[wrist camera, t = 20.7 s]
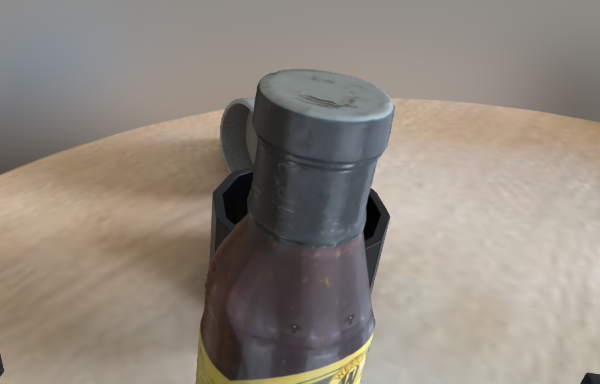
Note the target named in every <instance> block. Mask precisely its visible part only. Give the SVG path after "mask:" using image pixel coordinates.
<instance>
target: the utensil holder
mask: <svg viewBox="0 0 600 384" xmlns="http://www.w3.org/2000/svg"><path fill="white" fill-rule="evenodd" d="M252 181H253V166H250V167H247V168H244V169H241V170H238V171H235V172H233V173H231V174H230V175H229V176H228V177H227V178H226V179H225V180H224V181H223V182H222V183H221V184H220V185H219V187H218V188H217V189H216V190H215V191H214V192H213V199H212V222H211V245H210V265H211V262H212V259H213V257H214V254H215V252H216V250H217V249H218V247H219V246H220V245H221V243H222V242H223V240H224V239H225V238H226V237H227V236H228V235H229V234H230V232H231V231H233V230H234V229H235V225H236V224H237V223H239V222H240V221H241V220H242V219H243V218H244V217H245V216H246V215H247V214H248V206H247V198H248V196H249V192H250V190H251V184H252ZM389 220H390V215H389V213H388V211H387V209H386V208H385V206H384V204H383V203H382V201H381V199H380V198H379V196H378V194H377V193H376V192H375V191H374V190H373V189H370V193H369V196H368V201H367V205H366V222H365V226H364V229H363V234H364V243H365V252H366V261H367V269H368V278H369V287H370V295H371V292H372V288H373V284H374V280H375V276H376V272H377V268H378V264H379V260H380V256H381V252H382V248H383V244H384V240H385V236H386V232H387V228H388V224H389ZM209 268H210V267H209Z"/></svg>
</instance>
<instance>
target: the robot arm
mask: <svg viewBox="0 0 600 384" xmlns="http://www.w3.org/2000/svg"><path fill="white" fill-rule="evenodd" d="M3 372H4V368H3V364H2V359H1V355H0V376H1V375H2V373H3ZM580 384H600V374H593V373H586V375H585V376H584V378H583V380H582V382H581V383H580Z"/></svg>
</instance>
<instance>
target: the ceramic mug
mask: <svg viewBox="0 0 600 384" xmlns="http://www.w3.org/2000/svg"><path fill="white" fill-rule="evenodd" d="M254 102H255V98H241V99H236V100H234V101H232V102H231V103H230V104H229V105H228V106H227V107H226V108H225V111H224V113H223V116H222V119H221V125H220V142H221V150H222V154H223V158H224V162H225V164H226V167H227V169H228V171H229V173H230V174H231V173H233V172H235V171H238V170H241V169H244V168H247V167H250V166H254V162H255V158H256V149H257V135H256V132H255V130H254V127H253V124H252V117H253V111H254Z"/></svg>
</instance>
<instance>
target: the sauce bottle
mask: <svg viewBox="0 0 600 384" xmlns="http://www.w3.org/2000/svg"><path fill="white" fill-rule="evenodd" d="M394 109H395V106H394V104H393V102H392V101H391V99H390V98H389V96H388V95H387V94H386V93H385V92H384V91H383V90H382V89H381V88H379V87H377V86H375V85H373V84H372V83H370V82H367V81H364V80H362V79H358V78H356V77H352V76H348V75H343V74H339V73H333V72H327V71H320V70H312V69H291V70H283V71H278V72H275V73H270V74H268V75H266V76H264V77H263V78H262V79H261V80H260V81H259V83H258V86H257V93H256V97H255V102H254V111H253V117H252V124H253V127H254V130H255V132H256V135H257V149H256V158H255V162H254V166H253V181H252V184H251V190H250V192H249V196H248V198H247V206H248V214H247V215H246V216H245V217H244V218H243V219H242V220H241V221H240V222H239V223H237V224H236V225H235V229H234V230H233V231H231V232H230V234H229V235H228V236H227V237H226V238H225V239H224V240H223V242H222V243H221V245H220V246H219V247H218V249H217V250H216V252H215V254H214V257H213V259H212V262H211V265H210V268H209V272H208V275H207V282H206V284H205V287H206V291H205V295H206V297H205V308H204V313H203V316H202V319H201V325H200V335H199V348H198V360H197V375H196V384H359V381H360V378H361V374H362V371H363V367H364V364H365V360H366V357H367V354H368V352H369V348H370V344H371V340H372V336H373V332H374V329H375V319H374V315H373V310H372V304H371V295H370V287H369V278H368V269H367V261H366V252H365V243H364V234H363V229H364V226H365V222H366V205H367V201H368V196H369V193H370V189H371V185H372V181H373V176H374V172H375V167H376V164H377V160H378V158H380V156H381V155H382V153H383V152H384V150H385V149H386V148H387V146H388V141H389V136H390V133H391V126H392V121H393V116H394Z"/></svg>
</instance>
